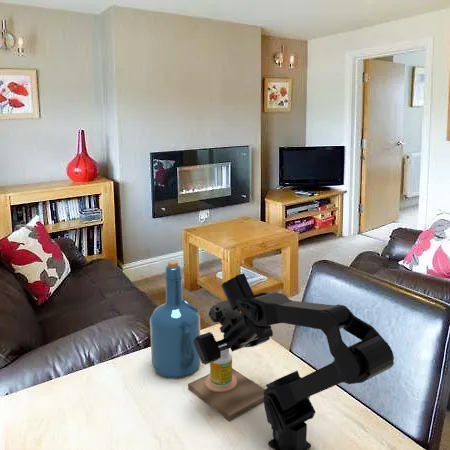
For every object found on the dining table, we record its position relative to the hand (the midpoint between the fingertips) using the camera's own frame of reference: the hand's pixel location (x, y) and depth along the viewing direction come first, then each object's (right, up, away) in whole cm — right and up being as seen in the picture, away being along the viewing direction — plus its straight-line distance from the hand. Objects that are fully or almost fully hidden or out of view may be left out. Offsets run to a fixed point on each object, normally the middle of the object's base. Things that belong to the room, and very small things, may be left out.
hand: (219, 351), depth 114 cm
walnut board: (+2, -10, 0) cm, 11 cm away
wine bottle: (-12, -8, +12) cm, 18 cm away
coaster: (0, -8, +2) cm, 9 cm away
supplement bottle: (0, -8, +1) cm, 8 cm away
